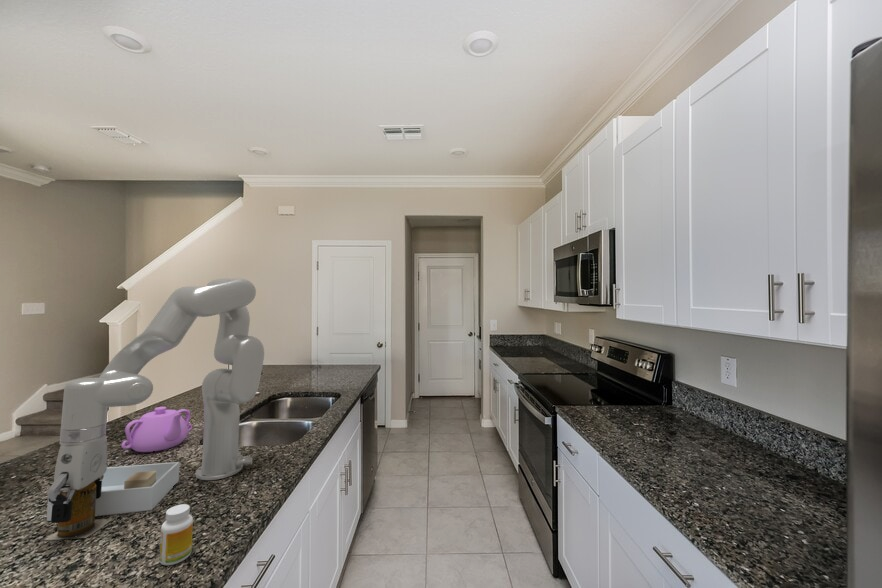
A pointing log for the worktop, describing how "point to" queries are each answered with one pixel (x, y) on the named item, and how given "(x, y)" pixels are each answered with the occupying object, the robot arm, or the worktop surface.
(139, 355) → the robot arm
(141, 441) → the teapot
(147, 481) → the cube
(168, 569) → the worktop surface
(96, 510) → the tote
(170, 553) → the supplement bottle
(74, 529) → the condiment
